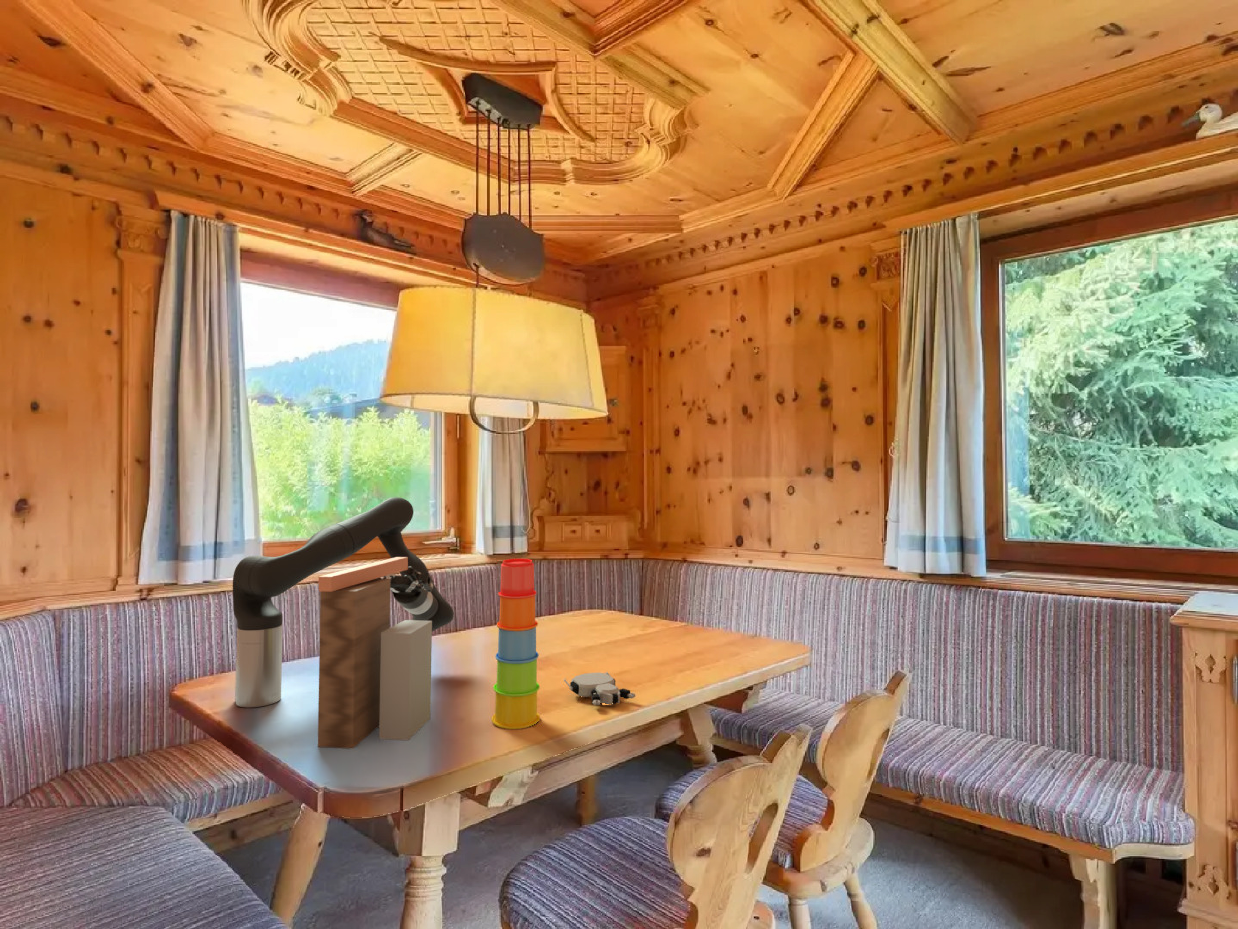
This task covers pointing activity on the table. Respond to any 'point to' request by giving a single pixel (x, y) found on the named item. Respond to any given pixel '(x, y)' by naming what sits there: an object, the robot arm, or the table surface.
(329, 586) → the terracotta bar
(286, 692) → the table surface
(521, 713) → the stacking cups
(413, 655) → the taupe pedestal
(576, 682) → the robot toy
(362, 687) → the walnut post
